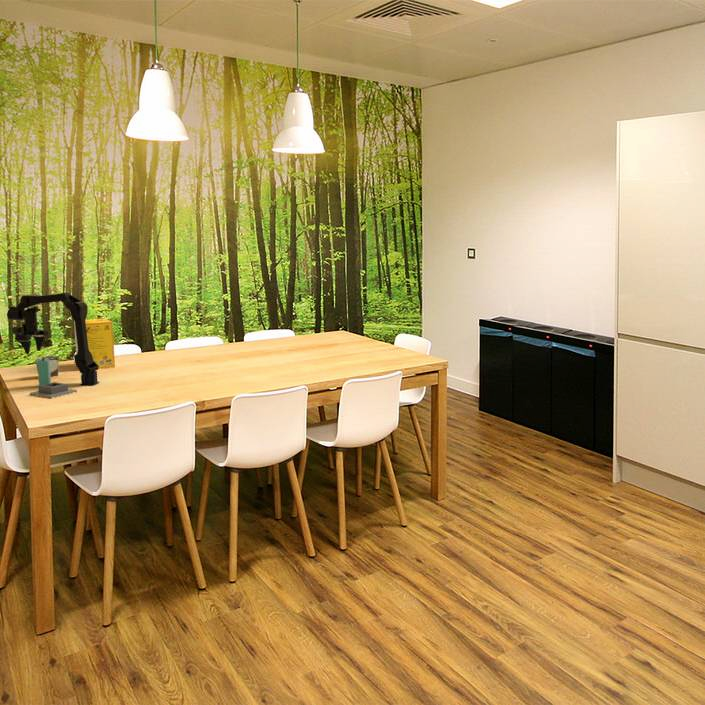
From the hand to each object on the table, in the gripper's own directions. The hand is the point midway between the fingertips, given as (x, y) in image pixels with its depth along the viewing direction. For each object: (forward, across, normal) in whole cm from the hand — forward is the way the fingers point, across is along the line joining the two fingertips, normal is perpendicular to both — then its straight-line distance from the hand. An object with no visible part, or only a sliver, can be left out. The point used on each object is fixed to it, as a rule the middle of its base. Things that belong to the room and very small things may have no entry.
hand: (33, 352), depth 334 cm
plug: (+15, +7, +9) cm, 19 cm away
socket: (+15, +20, +21) cm, 33 cm away
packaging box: (+15, -40, +10) cm, 44 cm away
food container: (+15, -12, -2) cm, 19 cm away
